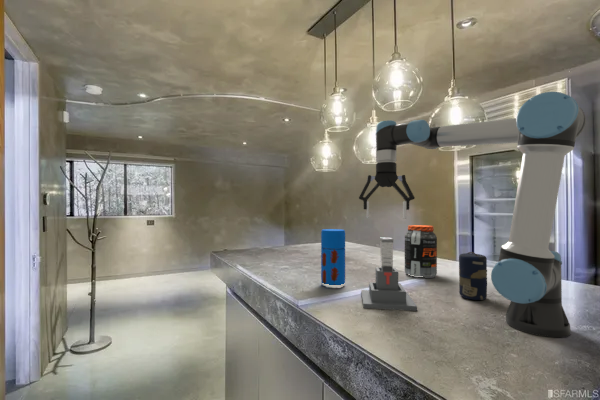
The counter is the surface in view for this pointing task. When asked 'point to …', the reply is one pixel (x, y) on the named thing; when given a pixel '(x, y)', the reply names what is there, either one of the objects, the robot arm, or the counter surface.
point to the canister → (473, 276)
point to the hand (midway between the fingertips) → (386, 218)
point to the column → (386, 252)
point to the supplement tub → (421, 251)
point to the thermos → (333, 256)
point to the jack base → (387, 292)
